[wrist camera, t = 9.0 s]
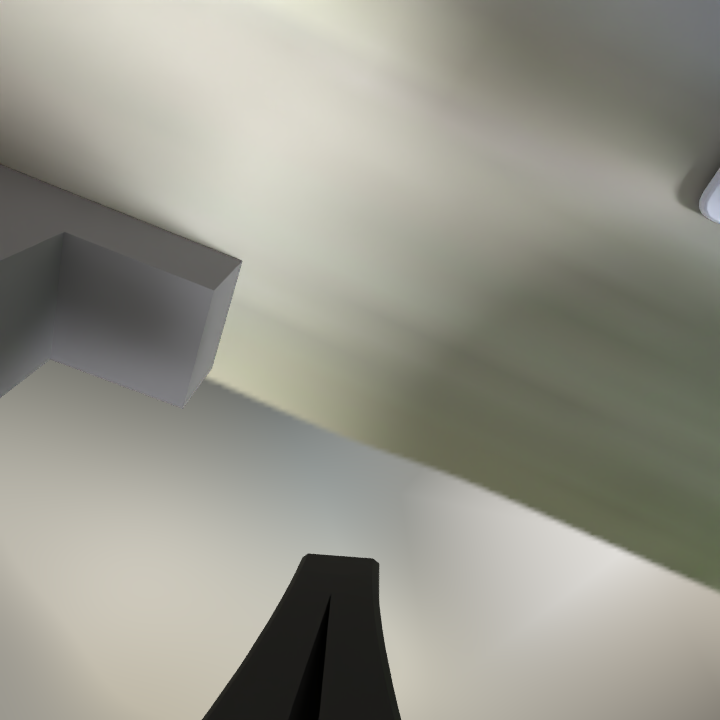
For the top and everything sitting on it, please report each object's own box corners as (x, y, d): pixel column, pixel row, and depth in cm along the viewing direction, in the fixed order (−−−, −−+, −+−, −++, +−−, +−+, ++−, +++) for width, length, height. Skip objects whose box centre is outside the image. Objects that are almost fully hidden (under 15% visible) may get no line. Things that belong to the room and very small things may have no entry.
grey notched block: (242, 260, 16) (175, 330, 12) (212, 368, 18) (144, 462, 14) (-21, 156, 16) (-193, 190, 11) (-25, 278, 18) (-173, 347, 13)
